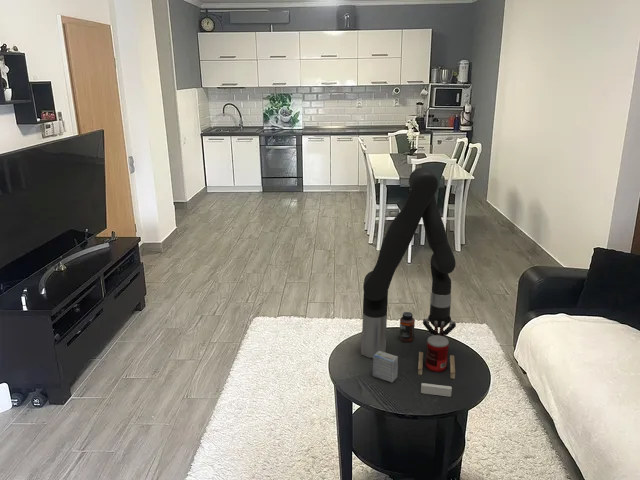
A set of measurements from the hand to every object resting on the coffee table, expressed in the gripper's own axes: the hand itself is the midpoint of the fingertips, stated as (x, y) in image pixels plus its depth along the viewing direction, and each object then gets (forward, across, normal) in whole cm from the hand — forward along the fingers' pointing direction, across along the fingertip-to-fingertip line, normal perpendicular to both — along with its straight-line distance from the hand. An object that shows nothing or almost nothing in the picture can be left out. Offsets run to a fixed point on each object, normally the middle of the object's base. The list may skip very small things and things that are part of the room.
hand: (438, 343), depth 198 cm
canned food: (+4, 0, -10) cm, 11 cm away
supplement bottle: (+4, -13, +9) cm, 16 cm away
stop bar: (+4, 0, -27) cm, 28 cm away
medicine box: (+4, -18, -21) cm, 28 cm away
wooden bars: (+4, 0, -11) cm, 12 cm away
